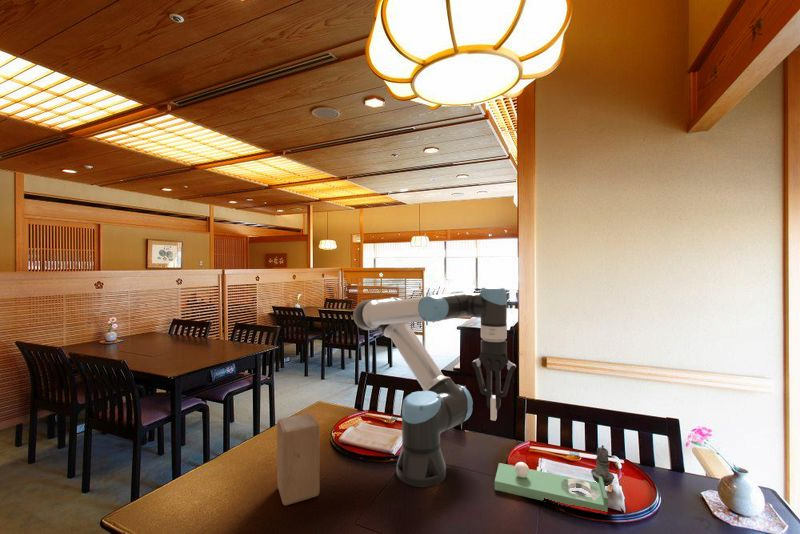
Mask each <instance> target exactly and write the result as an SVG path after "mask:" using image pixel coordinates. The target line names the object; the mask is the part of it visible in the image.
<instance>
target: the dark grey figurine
mask: <svg viewBox="0 0 800 534" xmlns="http://www.w3.org/2000/svg"><path fill="white" fill-rule="evenodd" d="M594 460H595V461H596V466H595V468H592V469H591V470H590V473H591V476H592V478H593V481H596V482H597V483H599V476H601V477H602V478H603V482H604V486H608V485H612V484H613V482H614V479H615V475H614V474H613V473H612V472H610V470H609V468H610V467H609V465H610V464H611V462H610V461H609V450H608V449H607V448H605V446H604V445H603V444H602V445H601V447H600V446H599V447H597V448H596V457H595V459H594Z"/></svg>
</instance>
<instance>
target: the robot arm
mask: <svg viewBox="0 0 800 534" xmlns="http://www.w3.org/2000/svg"><path fill="white" fill-rule="evenodd" d="M507 299H508V296H507V290H506V288H504V287H500V286H499V287H498V286H483V287H481V288H480V292H467V291H453V292H451V293H443V294H430V295H426V296H420V297H419V296H418V297H413V298H404V299H402V298H399V297H385V298H373V299H366V300H362V301H361V302H359V303H358V304H357V305H356V306H355V308H354V309H353V314H352V316H353V321H354V323H355V324H356V326H357V327H358V328H360V329H362V330H364V331H374V330H375V331H376V330H380V331H381V333H382V334H383V336H384V337H386V338H388V339H389V338H390V340H392V343H393V344H394V345H395V348H396V349H397V351H398V352H399V354H400V355H401V357H402V359H404V361H405V363H406V364H407V366H408V368H409V369H410V371H411V372H412V374H413V375H414V377H415V379H416V380H417V382H418V384H419V385H420V387H421V388H422V390H421V391H420V390H417V391H414V392H411V393H410V394H408V395H406V396H405V397H404V399H403V401H402V408H401V429H402V430H401V432H402V433H401V434H402V435H401V437H402V438H401V441H402V443H401V444H402V445H401V449H400V453H399V456H398V459H397V462H396V476H397V478H398V479H399V480H400V481H401V482H402V483H404V484H406V485H408V486H411V487H414V488H415V487H416V488H429V487H434V486H436V485H439V484H440V483H442V482H444V480H445V479H446V477H447V466H446V465H447V464H446V462H445V459H444V456H443V453H442V450H441V434H442V433H443V432H446V431H448V430H450V429H452V428H454V427H456V426H460V425H462V424H463V422H466V421H467V420H468V419H470V417H471V415H472V413H473V405H474V403H473V398H472V395H471V393H470V391H469V390H468V389H467V387H465V386H464V385H460V384H456V383H455V382H454V381H453V378H451V377H450V376H445V375H444V374H443V373H442V371H441V370H440V368H439V366H438V365H437V364H436V362H435V361H434V359H433V358H432V357H431V356H432V355H430V354H429V352H428V350H427V349H426V347H425V346H424V344H422V342H421V341H420V339H419V337H418V336H417V335H416V333H415V332H414V330H413V328H412V327H411V326H410V323H419V322H420V323H421V322H422V323H423V322H428V323H429V322H430V323H431V322H432V323H435V322H441V321H444V320H450V319H458V318H463V317H465V318H466V317H470V318H478V319H480V338H481V340H480V354H479V356H478V358H476V359H474V360H473V361H471V365H472V367H473V369H474V371H475V375H476V380H477V384H478V388H479V392H480V394H481V395H484V396H486V407H487V408H489V409H490V420H491V421H495V422H496V420H497V417H498V410H500V409H501V398H506V396H507V395H508V394H507V393H508V391H509V386H510V383H511V379H512V375H513V373H514V371H515V370H516V368H517V364H515V363H513V362H511V361H510V359H509V356H508V351H507V350H508V341H507V338H508V337H507V336H508V325H507V322H508V321H507V318H508V317H507V315H508V314H507V313H508V309H507V308H508V307H507V306H508V301H507ZM481 364H482V366H483V367H484V369H485V370H486V372H485V373H486V384H485V381H484V377H483V372H482V368H481ZM506 366H507V367H506ZM505 367H506V369H507V370H508V371H507V374H506V377H505V382H504V385H503V388H501V387H502V384H501V383H502V381H501V380H502V377H501V376H502V375H501V372H502V371H503V369H504V368H505ZM493 372H494V375H495V394H493ZM501 389H502V391H501Z"/></svg>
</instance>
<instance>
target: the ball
mask: <svg viewBox="0 0 800 534" xmlns="http://www.w3.org/2000/svg"><path fill="white" fill-rule="evenodd" d="M514 466H515V473H516V474H517V475H518V476H519V477H521V478H525V477H527V476H528V474H529V469H530V468H529V466H528V465H527V464H526V462H523V461H519V462H516V464H515V465H514Z"/></svg>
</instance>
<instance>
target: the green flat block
mask: <svg viewBox="0 0 800 534" xmlns="http://www.w3.org/2000/svg"><path fill="white" fill-rule="evenodd" d="M575 487H576V488H582V489H584V490H586V491H588V492H589V493H590V495H584V494H583V495H582V494H579V493H577V492H572V491H571V490H570V488H575ZM494 491H500V492H502V493H507V494H513V495H516V496H520V497H525V498H529V499H534V500H538V501H542V502H544V501H543V500H544V498H545V499H549V500H552V501H555V502H560V503H564V504H568V505H575V506H580V507H586V508H590V509H596V510H601V511H605V512H608V511H609V509H608V508H609V507H608V505H609V502H608V500H609V497H608V494H607V492H606V490H605V486H604V482H603V478H602V477H601V476H599V483H596V482H593V481H591V480H586V479H582V478H581V479H580V478H575V477H570V476H565V475H560V474H557V473H553V472H547V471H541V470H537V469H530V468H529V474H528V476H527V477H525V478H521V477H519V476H518V475H517V474H516V473H515V465H511V464H505V463H500V462H498V466H497V471H496V474H495V478H494ZM608 513H609V512H608Z"/></svg>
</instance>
